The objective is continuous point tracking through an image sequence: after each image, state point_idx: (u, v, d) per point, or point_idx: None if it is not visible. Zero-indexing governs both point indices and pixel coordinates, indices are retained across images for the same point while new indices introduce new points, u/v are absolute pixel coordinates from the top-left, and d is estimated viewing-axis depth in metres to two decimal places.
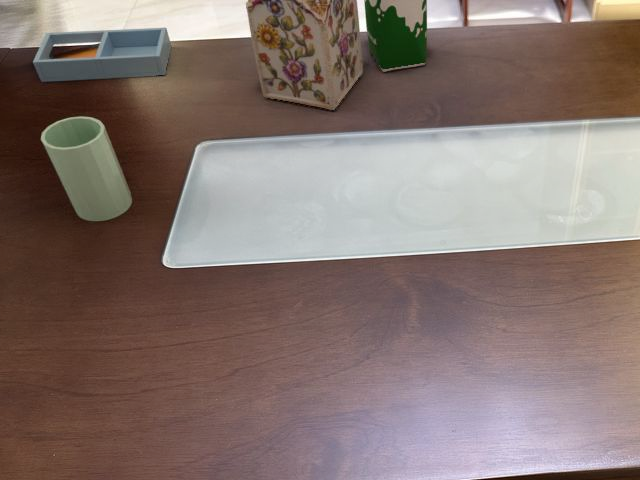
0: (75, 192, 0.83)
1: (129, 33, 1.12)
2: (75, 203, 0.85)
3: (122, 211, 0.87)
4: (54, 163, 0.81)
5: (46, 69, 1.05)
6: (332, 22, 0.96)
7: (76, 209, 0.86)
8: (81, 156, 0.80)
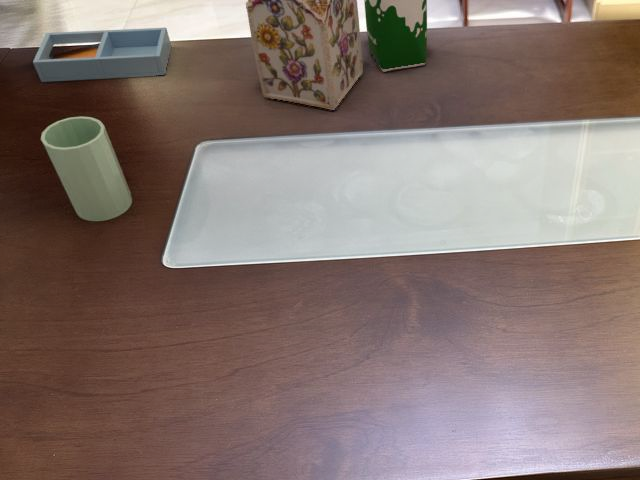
0: (75, 192, 0.83)
1: (129, 33, 1.12)
2: (75, 203, 0.85)
3: (122, 211, 0.87)
4: (54, 163, 0.81)
5: (46, 69, 1.05)
6: (332, 22, 0.96)
7: (76, 209, 0.86)
8: (81, 156, 0.80)
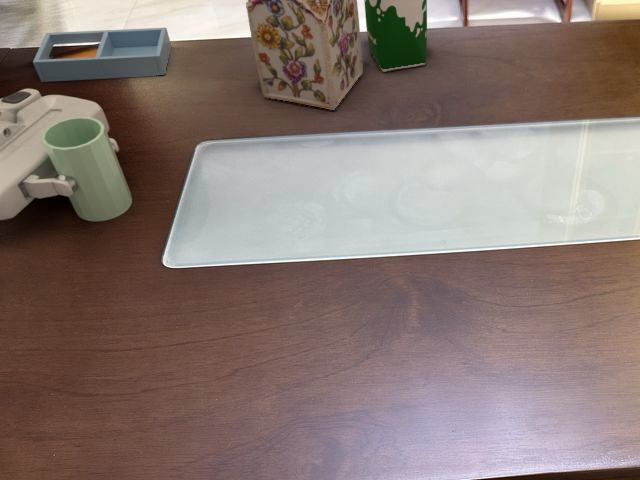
0: (75, 193, 0.83)
1: (129, 33, 1.12)
2: (75, 203, 0.85)
3: (122, 211, 0.87)
4: (54, 163, 0.81)
5: (46, 69, 1.05)
6: (332, 22, 0.96)
7: (76, 209, 0.86)
8: (81, 156, 0.80)
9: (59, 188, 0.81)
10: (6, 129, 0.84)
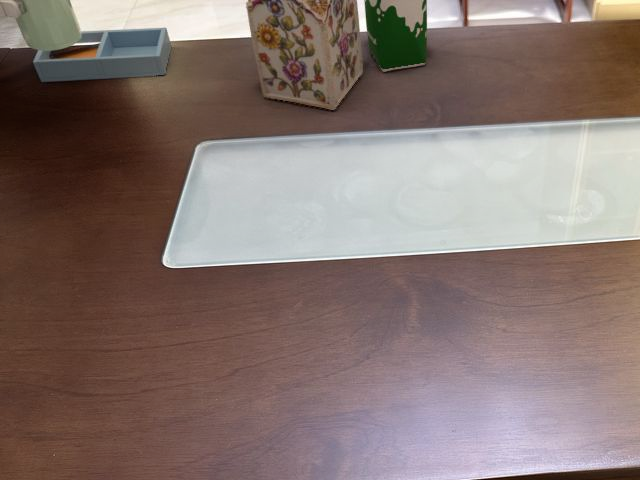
0: (24, 17, 0.87)
1: (129, 33, 1.12)
2: (24, 30, 0.89)
3: (71, 43, 0.91)
4: None
5: (46, 69, 1.05)
6: (332, 22, 0.96)
7: (26, 38, 0.90)
8: None
9: (7, 8, 0.85)
10: None
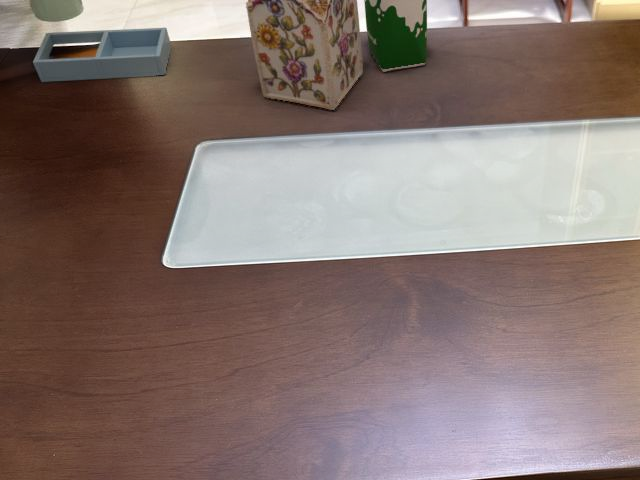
0: None
1: (129, 33, 1.12)
2: (33, 3, 1.01)
3: (74, 15, 1.03)
4: None
5: (46, 69, 1.05)
6: (332, 22, 0.96)
7: (35, 10, 1.02)
8: None
9: None
10: None
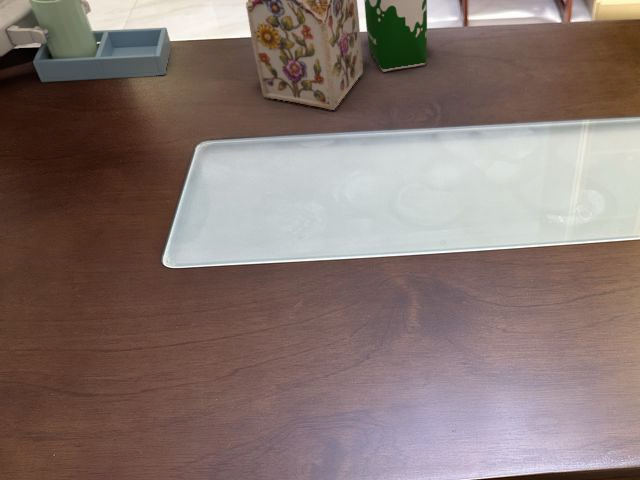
0: (54, 43, 1.05)
1: (129, 33, 1.12)
2: (54, 54, 1.06)
3: None
4: (37, 16, 1.02)
5: (46, 69, 1.05)
6: (332, 22, 0.96)
7: None
8: (58, 10, 1.01)
9: (35, 36, 1.02)
10: None
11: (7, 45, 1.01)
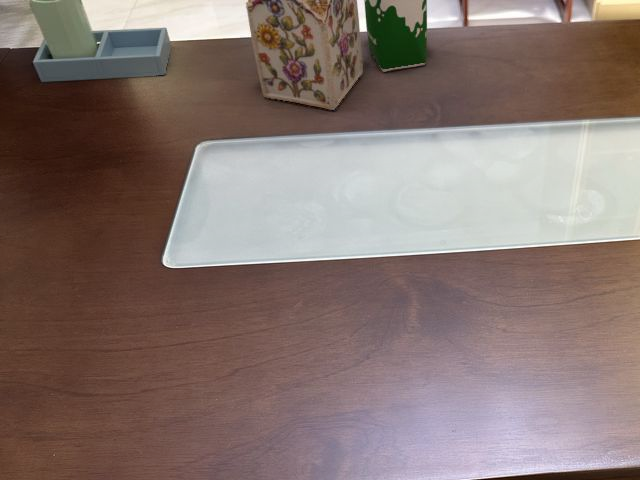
0: (54, 43, 1.05)
1: (129, 33, 1.12)
2: (54, 54, 1.06)
3: None
4: (37, 16, 1.02)
5: (46, 69, 1.05)
6: (332, 22, 0.96)
7: None
8: (58, 10, 1.01)
9: None
10: None
11: None
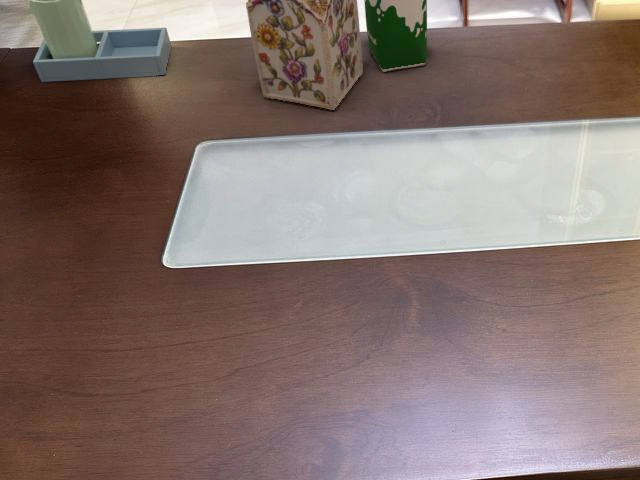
0: (54, 43, 1.05)
1: (129, 33, 1.12)
2: (54, 54, 1.06)
3: None
4: (37, 16, 1.02)
5: (46, 69, 1.05)
6: (332, 22, 0.96)
7: None
8: (58, 10, 1.01)
9: None
10: None
11: None
